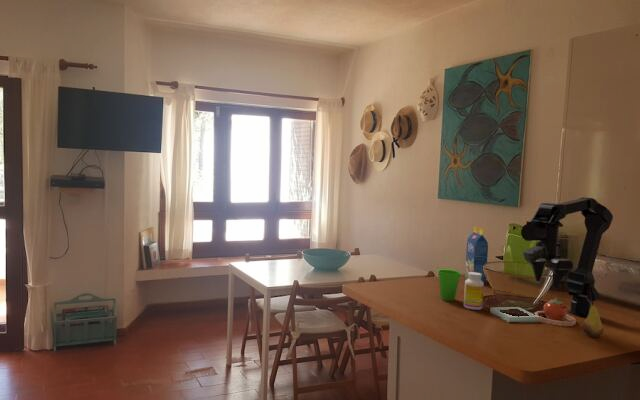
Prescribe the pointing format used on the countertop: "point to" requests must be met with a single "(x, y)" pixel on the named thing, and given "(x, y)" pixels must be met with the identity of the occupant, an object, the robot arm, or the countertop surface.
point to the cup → (448, 283)
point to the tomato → (555, 310)
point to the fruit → (593, 322)
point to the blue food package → (476, 253)
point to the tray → (514, 318)
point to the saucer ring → (559, 323)
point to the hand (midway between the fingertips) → (546, 284)
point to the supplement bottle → (473, 291)
